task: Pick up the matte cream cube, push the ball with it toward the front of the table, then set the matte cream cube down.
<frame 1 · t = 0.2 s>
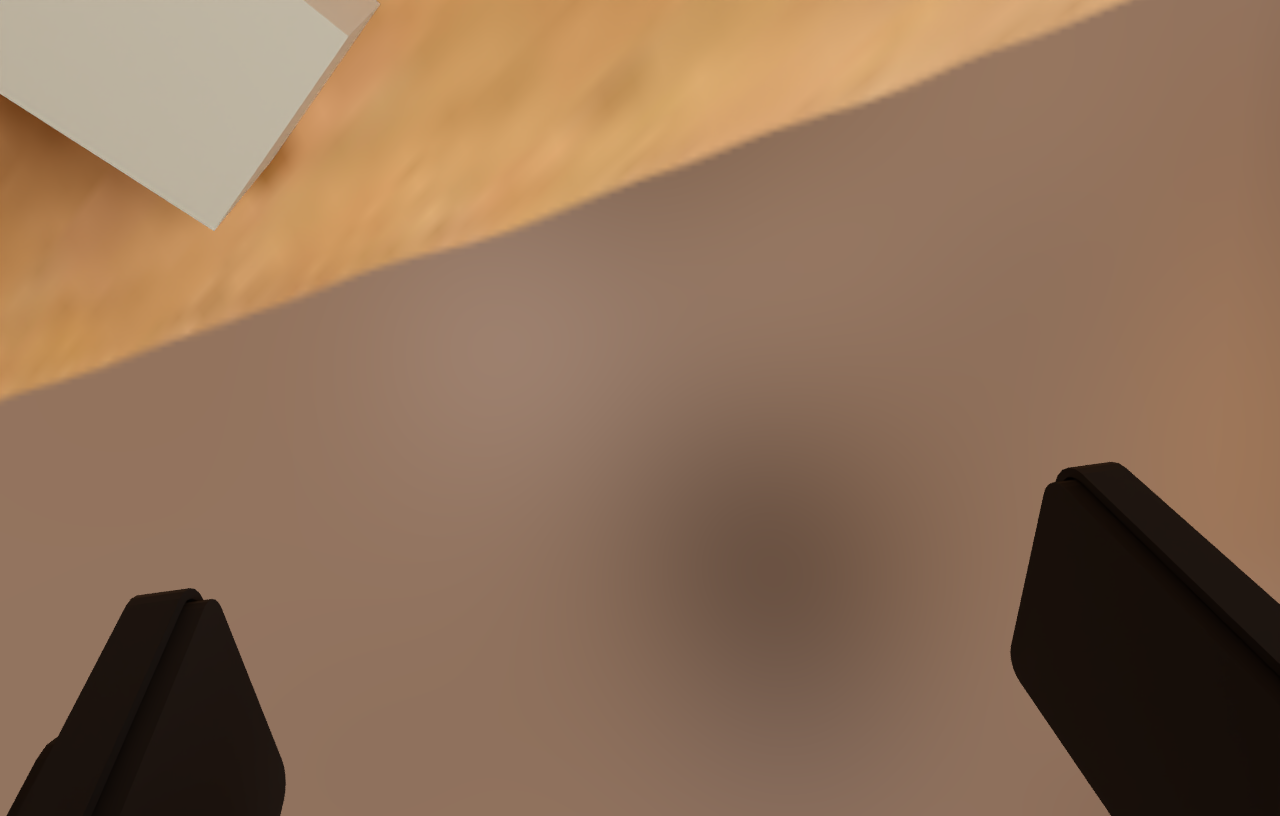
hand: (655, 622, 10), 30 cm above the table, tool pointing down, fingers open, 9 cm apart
matte cream cube: (233, 15, 33), on the table
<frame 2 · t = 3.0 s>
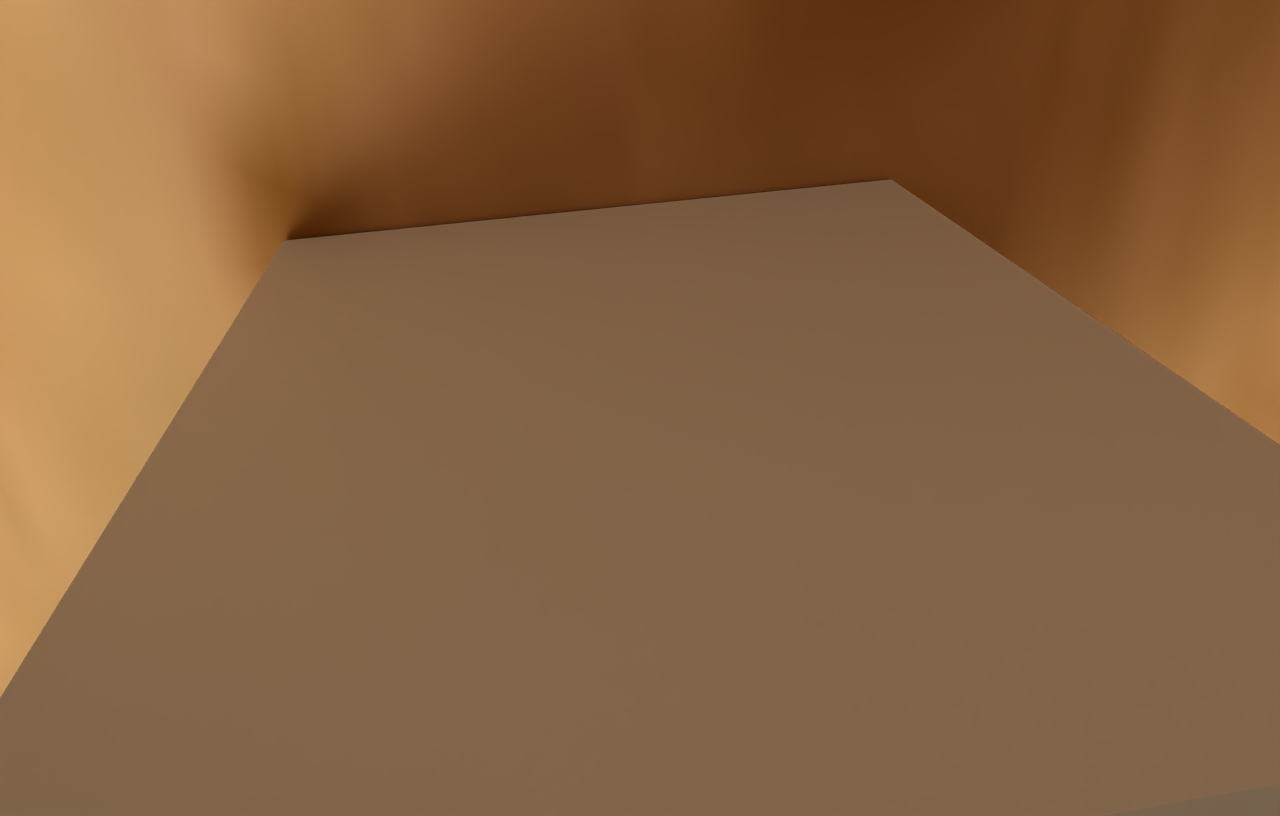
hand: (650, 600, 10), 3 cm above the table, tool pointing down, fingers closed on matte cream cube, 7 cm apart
matte cream cube: (618, 463, 13), on the table, touching gripper
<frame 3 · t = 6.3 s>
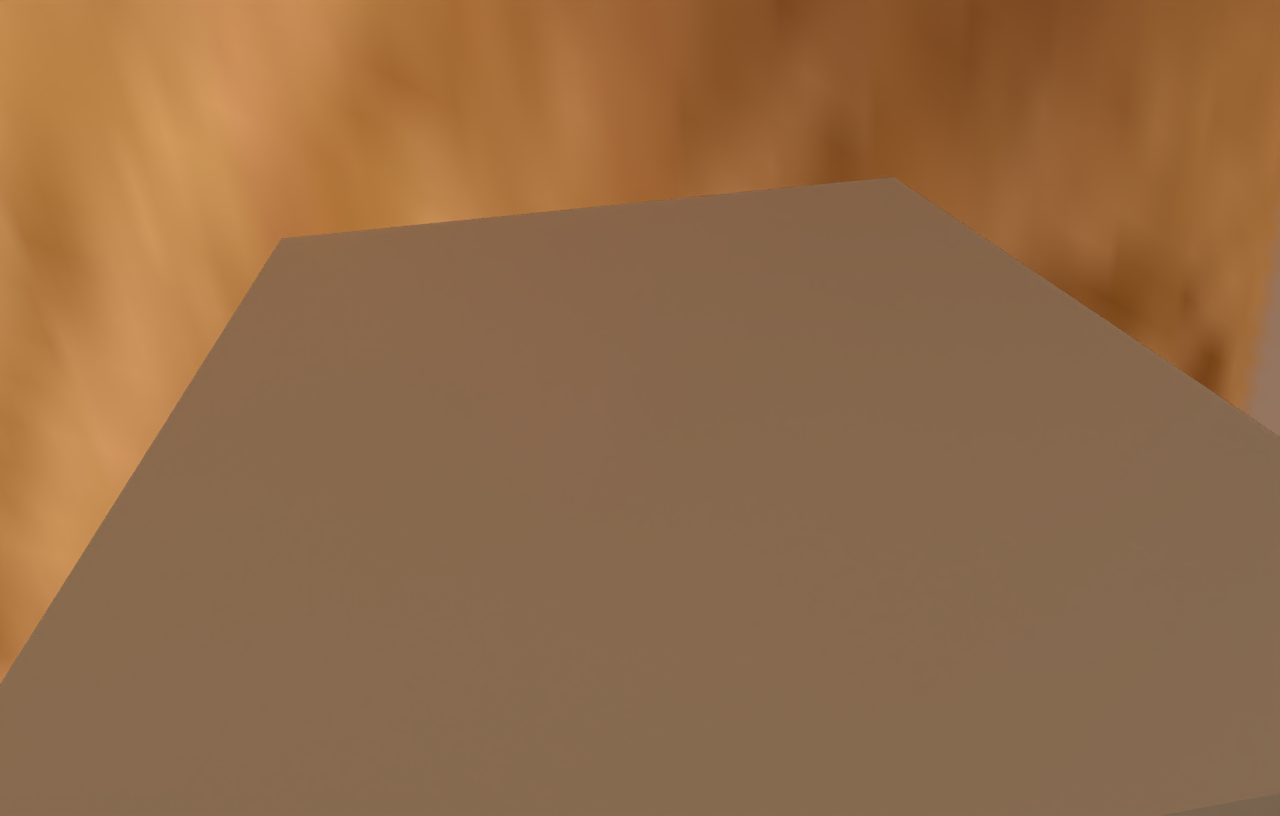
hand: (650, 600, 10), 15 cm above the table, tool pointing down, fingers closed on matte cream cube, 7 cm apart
matte cream cube: (619, 462, 13), point 12 cm above the table, touching gripper
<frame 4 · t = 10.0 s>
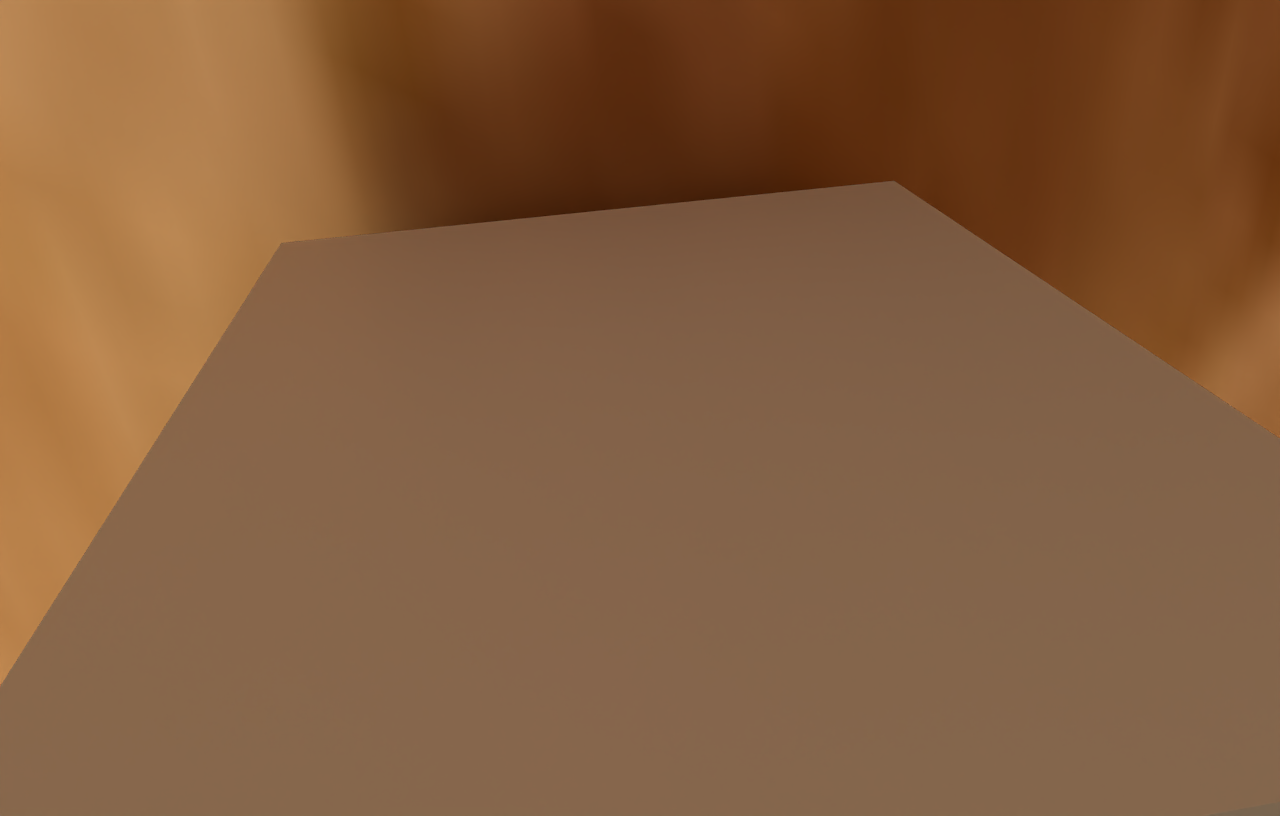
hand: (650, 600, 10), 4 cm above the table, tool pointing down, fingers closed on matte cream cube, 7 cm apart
matte cream cube: (619, 467, 13), point 2 cm above the table, touching gripper
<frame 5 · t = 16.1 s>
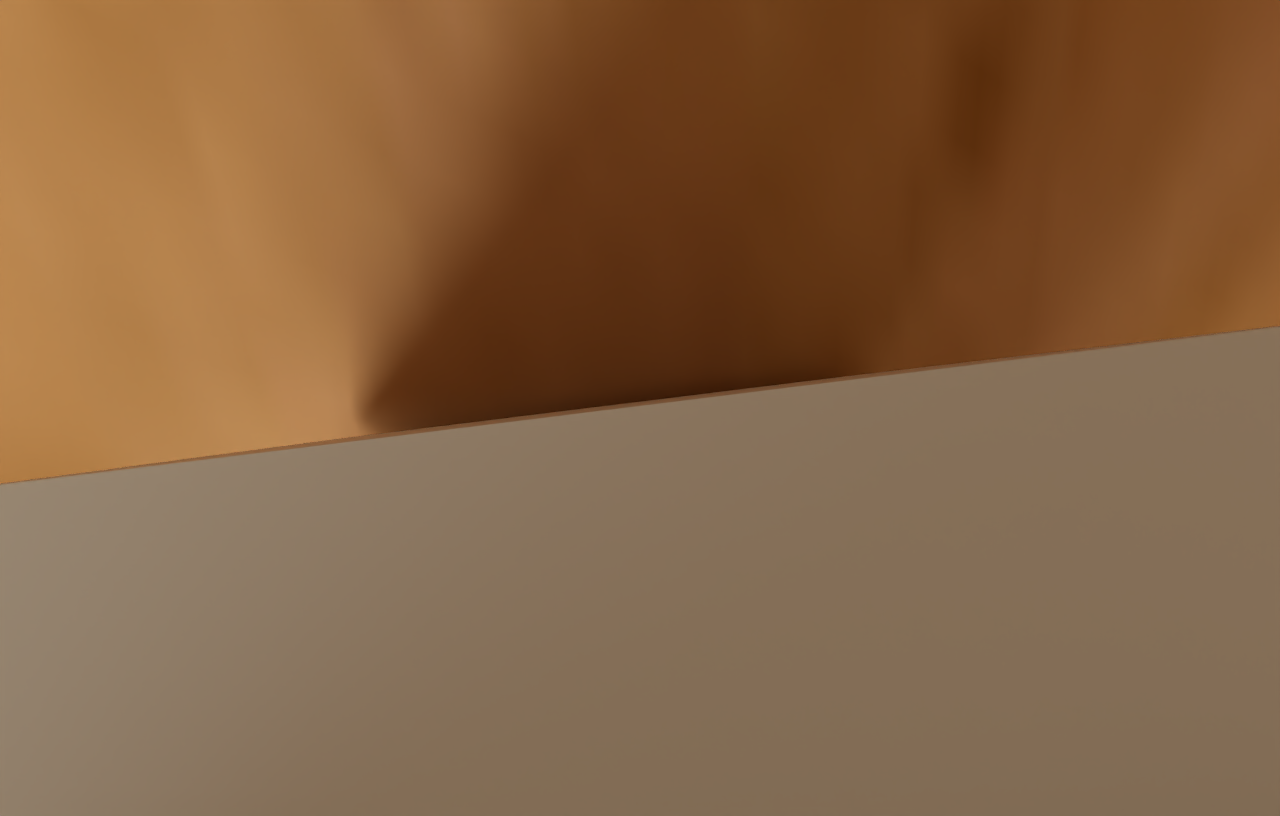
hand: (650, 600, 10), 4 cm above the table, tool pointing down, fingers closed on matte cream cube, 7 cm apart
matte cream cube: (643, 662, 13), point 2 cm above the table, tilted 30°, touching ball, gripper
when the fingers open (4 cm above the table, at t = 16.7 s): matte cream cube drops 2 cm, on the table.
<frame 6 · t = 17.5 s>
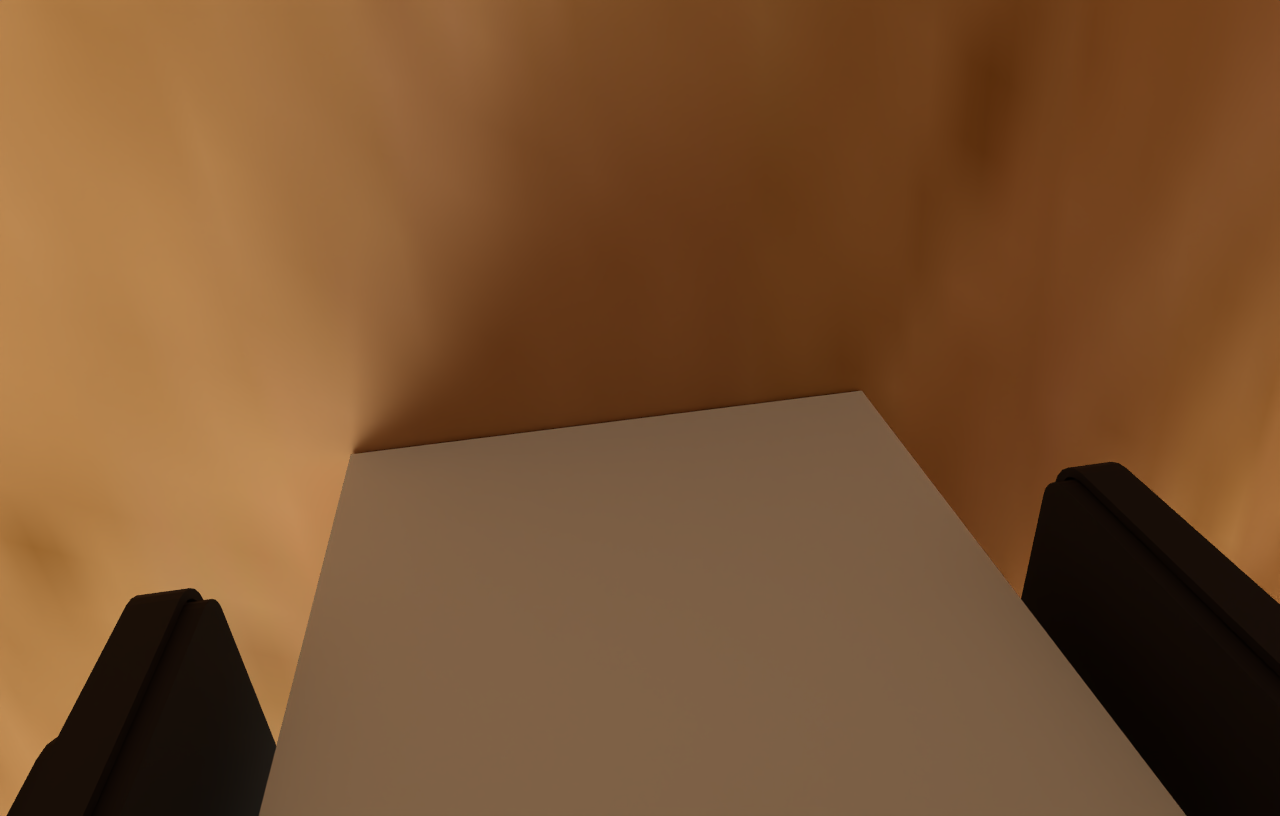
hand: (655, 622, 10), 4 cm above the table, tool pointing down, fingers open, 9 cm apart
matte cream cube: (629, 613, 15), on the table
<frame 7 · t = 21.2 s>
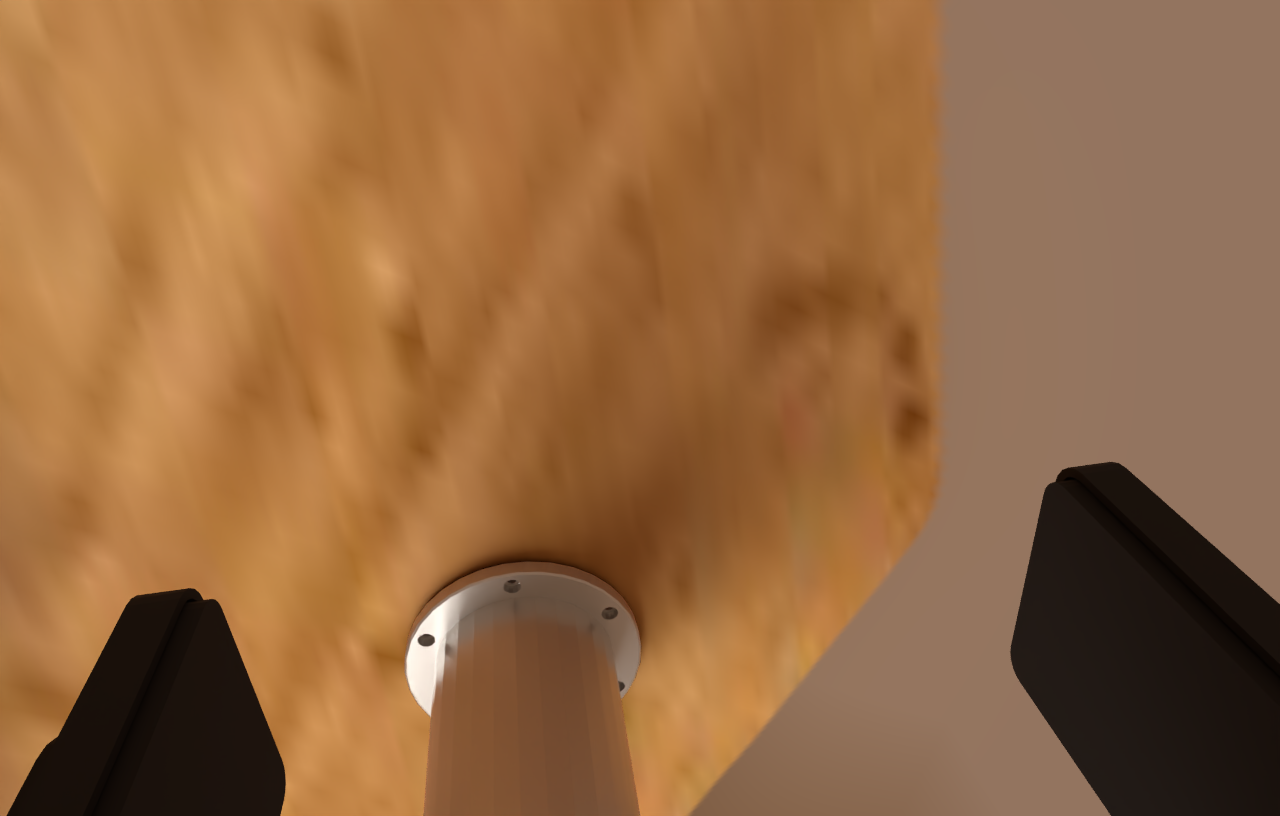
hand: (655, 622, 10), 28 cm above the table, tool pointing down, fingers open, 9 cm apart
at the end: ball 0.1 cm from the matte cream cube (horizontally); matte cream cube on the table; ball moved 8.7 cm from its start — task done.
